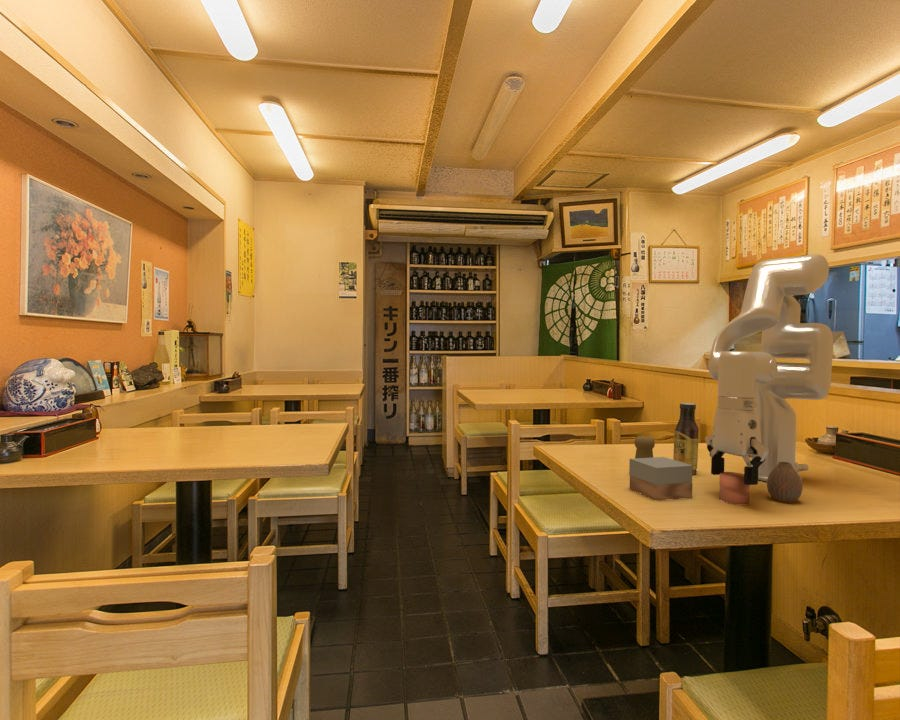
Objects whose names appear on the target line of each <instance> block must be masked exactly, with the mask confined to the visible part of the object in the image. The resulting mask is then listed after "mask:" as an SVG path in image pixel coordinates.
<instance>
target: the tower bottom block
mask: <svg viewBox="0 0 900 720" xmlns="http://www.w3.org/2000/svg"><path fill="white" fill-rule="evenodd" d="M629 489H630V490H631V489H632V490H631V491H633V490H634V491H633V492H635V491H636V492H635V493H637V492H638V493H637V494H639V493H641V494H640V495H642V496H644V495H645V496H644V497H646V498H648V497H649V498H648V499H650V498H651V499H650V500H652V499H653V501H654V500H658V501H667V500H666V499H673V500H680V499H679V498H687V499H693V482H692V483H680V484H666V485H654V484H652V483H649V482H647V481H644V480H641V479H639V478H636V477H634V476H631V475H629Z"/></svg>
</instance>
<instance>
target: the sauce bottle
mask: <svg viewBox="0 0 900 720" xmlns="http://www.w3.org/2000/svg"><path fill="white" fill-rule="evenodd" d="M696 405H697V404H696V403H692V402H680V403H679V409H680V411H679V419H678V422H677V424H676V426H675V428H674V433H673V434H674V436H673V437H674V438H673V458H672V460H675V461H679V462H682V463H685V464H688V465H692V476H693V474H694V475H696V474H697V472H698V471H697V470H698V462H699V461H698V459H699V457H698V455H699V438H700V437H699V427H698V424H697V423H696V420H695V419H696V418H695V417H696V416H695V413H696V412H695V411H696V408H697V406H696Z"/></svg>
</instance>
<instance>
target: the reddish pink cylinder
mask: <svg viewBox="0 0 900 720" xmlns="http://www.w3.org/2000/svg"><path fill="white" fill-rule="evenodd" d="M750 487H751V485H745V484H744V473H741V472H735V471H734V472H732V471H724V472H721V473H720V475H719V500H720V501H721V500H722V501H721V502H723V501H724V502H723V503H726V502H728V503H727V504H730V503H732V504H731V505H736V504H747V505H749V504H750V492H751V491H750V490H751V488H750Z"/></svg>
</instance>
